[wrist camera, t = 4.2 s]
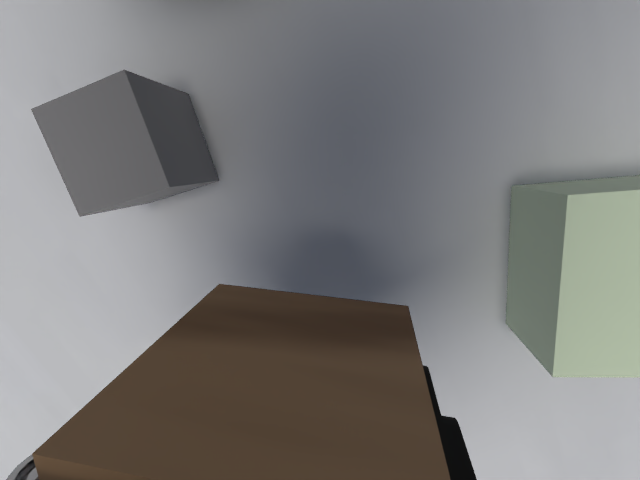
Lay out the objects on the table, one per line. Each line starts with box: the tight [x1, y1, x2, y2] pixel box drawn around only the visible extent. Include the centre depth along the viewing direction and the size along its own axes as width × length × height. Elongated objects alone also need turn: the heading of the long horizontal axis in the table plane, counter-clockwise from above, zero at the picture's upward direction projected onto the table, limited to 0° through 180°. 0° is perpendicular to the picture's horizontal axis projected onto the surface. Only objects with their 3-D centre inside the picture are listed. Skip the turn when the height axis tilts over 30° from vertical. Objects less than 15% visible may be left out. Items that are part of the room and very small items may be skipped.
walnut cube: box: [32, 284, 450, 480], centre depth 8 cm, size 6×6×6 cm
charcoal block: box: [31, 70, 219, 216], centre depth 16 cm, size 5×5×5 cm
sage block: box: [506, 175, 640, 377], centre depth 15 cm, size 8×8×5 cm
